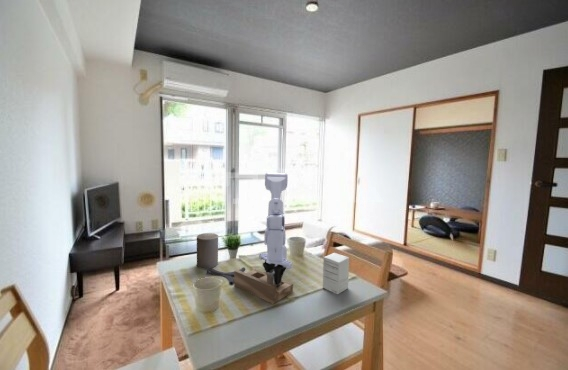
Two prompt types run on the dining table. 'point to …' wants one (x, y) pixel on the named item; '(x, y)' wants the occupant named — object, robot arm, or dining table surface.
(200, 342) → the dining table surface
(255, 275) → the brown holed block
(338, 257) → the supplement box
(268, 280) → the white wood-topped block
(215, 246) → the pillar candle
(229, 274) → the bracket
